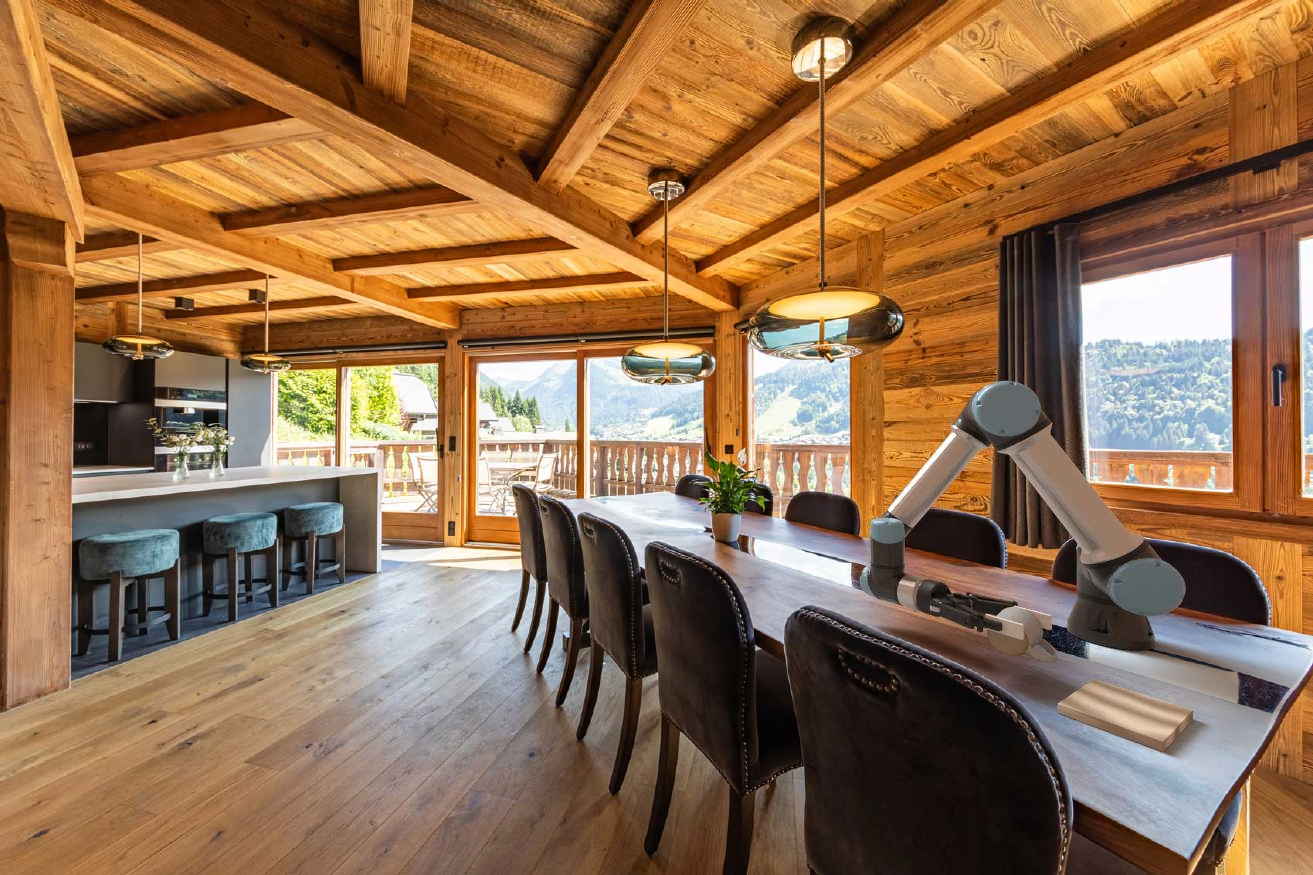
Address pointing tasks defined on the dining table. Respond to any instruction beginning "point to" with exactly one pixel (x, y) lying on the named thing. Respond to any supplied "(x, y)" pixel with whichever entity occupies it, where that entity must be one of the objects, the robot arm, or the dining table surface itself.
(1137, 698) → the birch board
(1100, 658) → the dining table surface
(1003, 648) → the ceramic mug
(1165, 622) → the dining table surface
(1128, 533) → the robot arm
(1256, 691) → the dining table surface
